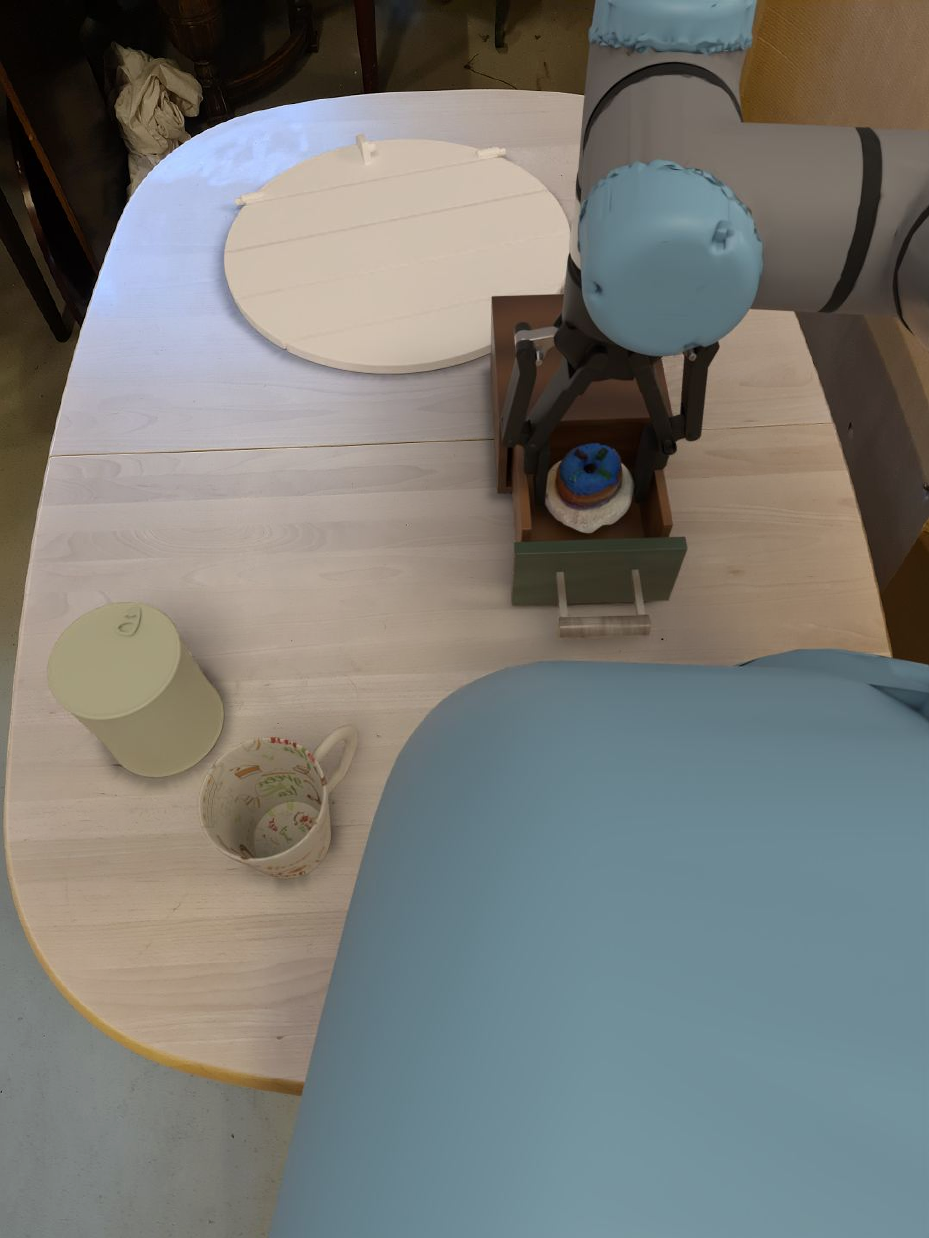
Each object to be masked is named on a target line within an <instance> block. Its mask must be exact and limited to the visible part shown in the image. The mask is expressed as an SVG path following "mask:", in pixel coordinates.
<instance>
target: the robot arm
mask: <svg viewBox="0 0 929 1238" xmlns="http://www.w3.org/2000/svg"><path fill="white" fill-rule="evenodd" d="M757 4H758V0H595V2H594V9H593V15H592V20H591V26H590V27H589V28H588V30H587V31H588V34H587V35H588V36H587V37H588V38H587V40H588V42H589V47H588V55H587V56H588V57H587V65H586V66H587V67H586V77H585V87H584V97H583V107H582V118H581V127H580V128H581V129H580V143H579V153H578V154H579V155H578V166H577V167H578V168H577V173H576V179H575V190H574V191H575V192H574V200H573V207H572V216H571V226H570V242H569V251H570V252H569V255H568V260H567V269H566V279H565V285H564V287H563V289H564V290H563V294H564V298H563V307H562V311H561V313H560V314H559V316H558V317H557V318H556V320H555V321H554V324H553V326H551V327H545V328H540V329H534V330H532V328H531V326H530V324H528V323H526V322H521V323H518V324H517V325H515V327H514V338H515V350H516V358H515V362H514V366H513V370H512V374H511V378H510V382H509V386H508V391H507V395H506V399H505V403H504V407H503V411H502V415H501V433H502V444H503V446H505V447H508V448H511V447H515V446H516V445H520V446H522V447H523V451H522V462H523V471H524V473H525V475H529V474H534V478H533V484H534V495H535V506H545V497H546V487H547V478H548V469H549V460H550V448H549V436H550V435H551V433H552V432H553V431H554V429H555V428H556V426H557V425H558V423H559V422H560V420H561V419H562V418H563V416H564V415H565V413H566V412H567V410H568V409H569V408H570V406H571V405H572V403H573V402H574V400H575V399H576V398H577V396H578V395H583V394H584V392H585V391H586V389H587V388H588V387H589V385H590V384H591V382H599V381H604V380H609V379H616V380H621V381H630V380H634V377H635V378H636V381H637V384H638V387H639V390H640V393H642V396H643V399H644V401H645V404H646V407H647V410H648V413H649V416H650V419H651V421H652V424H645V425H644V429H643V433H642V437H641V441H640V445H639V450H638V454H637V458H636V462H635V466H634V470H633V475H632V478H633V481H634V495H635V501H636V503H645V500H646V497H647V493H648V489H649V486H650V482H651V478H652V475H653V471H654V470H663V471H664V469H666V467H667V465H668V463H669V462H668V461H669V457H670V456H673V455H675V454H676V453H677V451H678V447H677V442H679V441H681V440H684V439H685V441H687V442H696V441H698V440H699V439H700V438H701V436H702V431H703V421H704V412H705V410H704V409H705V403H706V394H707V393H706V392H707V384H708V383H707V382H708V375H709V374H708V373H709V367H710V366H711V364H712V362H713V360H714V358H715V357H716V356H717V353H718V351H719V350H720V340H722V339H724V338H725V337H726V336H727V335H729V334H730V333H731V332H732V331H734V329H735V328H736V327H738V325H739V324H740V323H741V322H742V321H743V319H744V318H745V317H746V316H747V314H748V313H749V311H750V310H756V311H757V310H760V311H776V312H777V311H780V312H799V313H824V314H840V315H841V314H842V315H856V316H857V315H859V316H860V315H861V316H874V317H875V316H876V317H877V316H878V317H891V318H896V319H897V320H898V321H899V322H900V323H901V324H902V325H903V326H904V328H905V329H907V330H908V332H909V333H911V335H913V337H914V338H915V339H916V340H917V342H919V344H920V345H921V346H922V347H923V349H924V350H926V352H927V354H929V129H898V128H894V129H893V128H871V127H870V126H865V127H863V126H841V125H840V126H839V125H819V124H796V123H795V124H794V123H770V122H744V118H743V114H742V104H741V96H740V82H741V75H742V69H743V66H744V62H745V59H746V55H747V51H748V49H751V48H752V44H753V40H754V36H753V34H752V30H753V26H754V25H753V24H754V20H755V19H754V18H755V13H756V7H757ZM553 347H556V348H557V349H558V350H559V351H560V353H561V354H562V355H563V358H562V362H561V365H560V367H559V369H558V370H557V372H556V373H555V375H554V376H553V378H552V380H551V381H550V383H549V384H548V386H547V387H546V389H545V390H544V392H543V394H542V395H541V397H540V398H539V400H538V401H537V403H536V404H535V406H534V407H533V409H532V411H531V412H530V414H529V415H527V416H526V413H527V409H528V406H529V402H530V399H531V395H532V392H533V388H534V385H535V381H536V376H537V367H536V366H541V365H542V364H543V360H544V359H545V358H546V357H547V352H548V351H549V350H550V349H551V348H553ZM680 355H683V364H682V366H683V367H682V380H681V381H682V382H681V393H680V394H681V396H680V409H679V414H676V415H673V416H672V417H671V416H670V413H669V409H668V406H667V403H666V400H665V397H664V394H663V391H662V387H661V384H660V381H659V378H658V375H657V372H656V369H655V366H654V364H655V363H656V362H658V361H659V360H660V359H661V358H662V359H663V358H664V357H675V356H680ZM525 416H526V417H525ZM348 905H349V906H348V909H347V913H346V916H345V920H344V924H343V927H342V932H341V936H340V939H339V944H338V947H337V950H336V954H335V959H334V962H333V967H332V971H331V976H330V979H329V982H328V987H327V991H326V995H325V999H324V1002H323V1006H322V1009H321V1014H320V1017H319V1022H318V1026H317V1031H316V1034H315V1037H314V1038H315V1039H314V1043H313V1046H312V1051H311V1054H310V1058H309V1063H308V1067H307V1071H306V1075H305V1080H304V1084H303V1088H302V1092H301V1096H300V1101H299V1104H298V1109H297V1112H296V1118H295V1120H294V1125H293V1130H292V1133H291V1137H290V1140H289V1141H290V1142H289V1145H288V1150H287V1153H286V1158H285V1163H284V1166H283V1171H282V1174H281V1175H282V1176H281V1180H280V1184H279V1189H278V1193H277V1197H276V1200H275V1201H276V1202H275V1205H274V1211H273V1215H272V1220H271V1223H270V1228H269V1232H268V1236H267V1238H929V664H927V663H922V662H918V661H917V662H916V661H911V660H907V659H900V658H895V657H890V656H885V655H879V654H874V653H867V652H861V651H854V650H849V649H841V648H799V649H792V650H788V651H783V652H779V653H774V654H769V655H763V656H759V657H757V658H753V659H750V660H747V661H744V662H740V663H737V664H734V665H715V664H713V665H710V664H709V665H708V664H683V663H682V664H681V663H654V662H653V663H652V662H627V661H626V662H624V661H623V662H622V661H595V660H593V661H591V660H566V659H565V660H564V659H563V660H561V659H560V660H559V659H558V660H539V661H533V662H529V663H528V662H527V663H523V664H517V665H511V666H506V667H503V668H501V669H499V670H497V671H493V672H491V673H489V674H486V675H484V676H481V677H478V678H476V679H475V680H473V681H471V682H468V683H467V684H464V685H462V686H460V687H458V688H457V689H456V690H454V691H452V692H451V693H450V694H448V695H447V696H446V697H444V698H443V699H441V700H440V702H438V703H437V704H436V705H435V706H433V708H431V710H430V711H429V712H428V713H427V714H426V715H425V717H424V718H423V720H422V721H421V722H419V724H418V725H417V727H416V728H415V729H414V730H413V732H412V733H411V734H410V736H409V737H408V738H407V740H406V741H405V743H404V745H403V746H402V748H401V749H400V751H399V753H398V754H397V756H396V758H395V761H394V763H393V765H392V768H391V769H390V772H389V774H388V777H387V779H386V781H385V784H384V788H383V790H382V793H381V796H380V799H379V802H378V805H377V806H376V810H375V813H374V815H373V820H372V822H371V827H370V829H369V833H368V837H367V840H366V844H365V846H364V850H363V854H362V857H361V861H360V865H359V867H358V872H357V876H356V880H355V883H354V887H353V890H352V894H351V898H350V902H349V904H348Z"/></svg>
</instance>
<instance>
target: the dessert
mask: <svg viewBox="0 0 929 1238" xmlns="http://www.w3.org/2000/svg"><path fill="white" fill-rule="evenodd" d="M633 491H634V481H633V478H632V476H631V474H630V472H629V471H628V469H627V468H626V467H625V466H624V465H623V464H622V463H621V459H620V456H619V455H618V452H616V451H615V450H614V449H611V448H610V447H607V445H606V446H605V445H602V444H601V445H600V444H598V443H590V444H586V445H582V446H581V445H580V446H579V447H576V448H573V449H572V450H570V451H569V453H567V455H566V456H565V457H564V459H563V460H562V461H559V462H557V463H556V464H555V465H554V466H553V467H552V468H551V469H550V471H549V472H548V478H547V487H546V497H545V505H546V506H547V508H548V510H549V512H550V513H551V514H552V515H553V516H554V518H556V519H557V520H558V521H560V522H562V523H563V524H564V525H566V526H569V527H572V528H574V529H576V530H578V531H580V532H584V533H592V532H594V531H595V530H596V529H598V528H599V527H601V526H602V525H609V524H610V525H611V524H613V523H615V522H616V521H617V520H618V519H620V518H621V517H622V516H623V515H624V514H625V513H626V512H627V510H628V509H629V507H630V504H631V501H632V496H633Z"/></svg>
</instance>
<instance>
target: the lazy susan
mask: <svg viewBox="0 0 929 1238" xmlns="http://www.w3.org/2000/svg"><path fill="white" fill-rule="evenodd" d="M354 138H355V144H350V145H346V146H343V147H338V148H335V149H332V150H329V151H325V152H322V153H319V154H317V155H315V156H312V157H309V158H307V159H305V160H303V161H300V162H298V163H297V164H294V165H293V166H291V167H289V168H287V169H285V170H284V171H282V172H281V173H279V174H278V175H276V176H274V177H273V178H272V179H270V180H269V181H268V182H266V183H265V184H264V185H262V187H260V188H259V189H258V190H256V191H253V192H247V193H242V194H240V196H239V197H235V198H234V202H235V207H240V206H242V207H241V209H240V211H239V212H238V214H237V215H236V216H235V218H234V220H233V222H232V224H231V226H230V228H229V231H228V234H227V237H226V241H225V244H224V250H223V251H224V254H223V267H224V275H225V279H226V282H227V285H228V288H229V291H230V294H231V297H232V299H233V301H234V303H235V305H236V307H237V308H238V310H239V311H240V313H241V314H242V316H243V318H244V319H246V320H247V322H248V323H249V324H250V325H251V326H252V327H253V328H254V329H255V330H256V331H257V332H258V333H259V334H260V335H262V336H263V337H264V338H265V339H266V340H268V341H270V342H271V343H273V344H274V345H275V346H277V347H279V348H281V349H282V350H287V352H289V353H290V354H292V355H294V356H297V357H299V358H302V359H304V360H307V361H309V362H312V363H315V364H318V365H321V366H326V367H329V368H333V369H338V370H343V371H349V372H355V373H356V372H357V373H363V374H364V373H365V374H378V375H379V374H381V375H392V374H393V375H395V374H396V375H397V374H413V373H421V372H422V373H423V372H429V371H435V370H440V369H445V368H450V367H454V366H457V365H461V364H464V363H467V362H470V361H474V360H476V359H479V358H481V357H483V356H486V355H488V354H491V297H492V296H514V295H546V294H561V293H562V292H561V291H563V289H564V288H565V279H566V269H567V260H568V255H569V252H570V251H569V242H570V233H571V226H570V224H569V221H568V218H567V216H566V213H565V211H564V209H563V207H562V205H560V203H559V202H558V200H557V198H556V196H554V195H553V194H552V192H551V191H550V190H548V187H546V186H545V185H544V184H543V183H542V182H541V181H540V180H539V179H537V178H536V177H535V176H534V175H532V174H531V173H529V172H528V171H527V170H526V169H524V168H523V167H520V166H519V165H517V164H516V163H513V162H512V161H510V160H508V159H505V158H504V157H505V156H507V150H506V148H505V147H501V148H500V147H499V146H493V147H487V148H482V149H480V148H477V147H473V146H470V145H464V144H461V143H455V142H449V141H444V140H443V141H442V140H434V139H422V138H421V139H420V138H419V139H418V138H417V139H416V138H399V139H398V138H396V139H395V138H394V139H382V140H375V141H374V140H373V141H369V140H368V138H367V136H366V135H365V133H360V134H356V135H355V137H354Z"/></svg>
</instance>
